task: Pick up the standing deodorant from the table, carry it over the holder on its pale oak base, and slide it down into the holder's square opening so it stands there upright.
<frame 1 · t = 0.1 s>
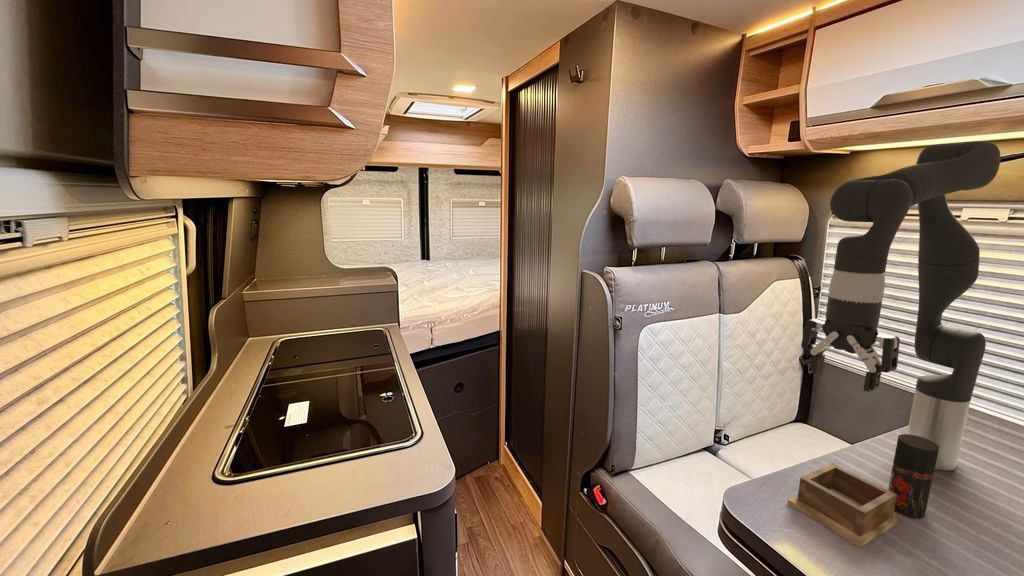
hand: (841, 381, 79), 29 cm above the table, tool pointing down, fingers open, 8 cm apart
deodorant: (904, 509, 88), on the table
holder: (842, 512, 87), on the table
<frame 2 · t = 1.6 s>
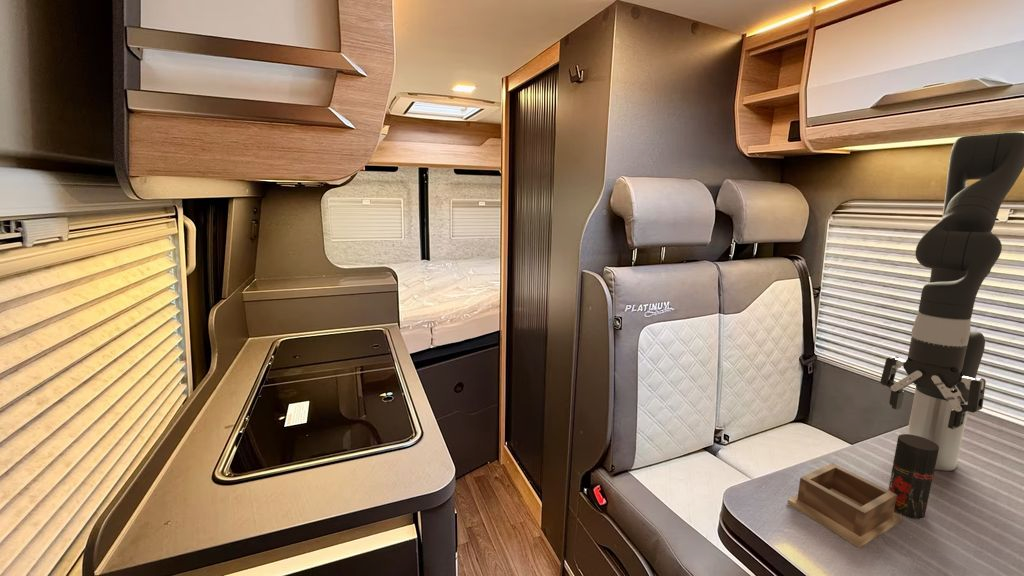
hand: (922, 417, 84), 20 cm above the table, tool pointing down, fingers open, 8 cm apart
nothing on the table moved.
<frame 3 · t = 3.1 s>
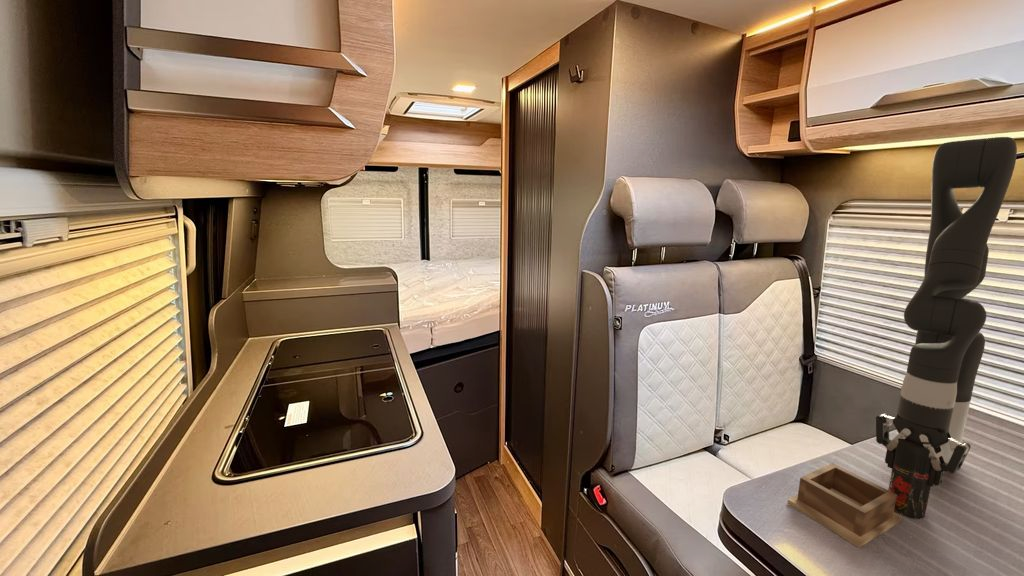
hand: (911, 475, 86), 8 cm above the table, tool pointing down, fingers closed on deodorant, 6 cm apart
deodorant: (904, 509, 88), on the table, touching gripper
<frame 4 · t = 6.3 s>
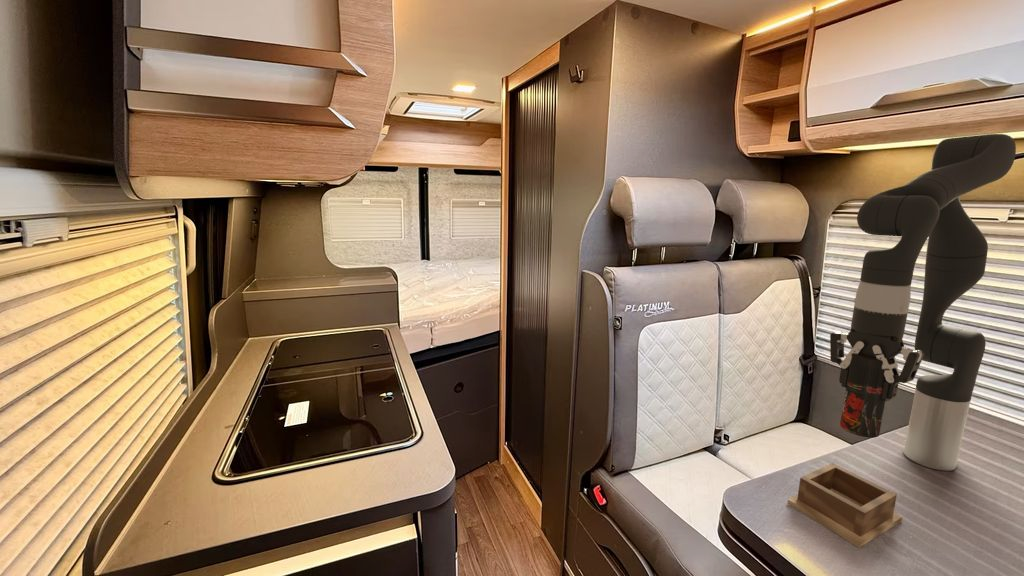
hand: (865, 392, 81), 26 cm above the table, tool pointing down, fingers closed on deodorant, 6 cm apart
deodorant: (858, 430, 83), point 18 cm above the table, touching gripper
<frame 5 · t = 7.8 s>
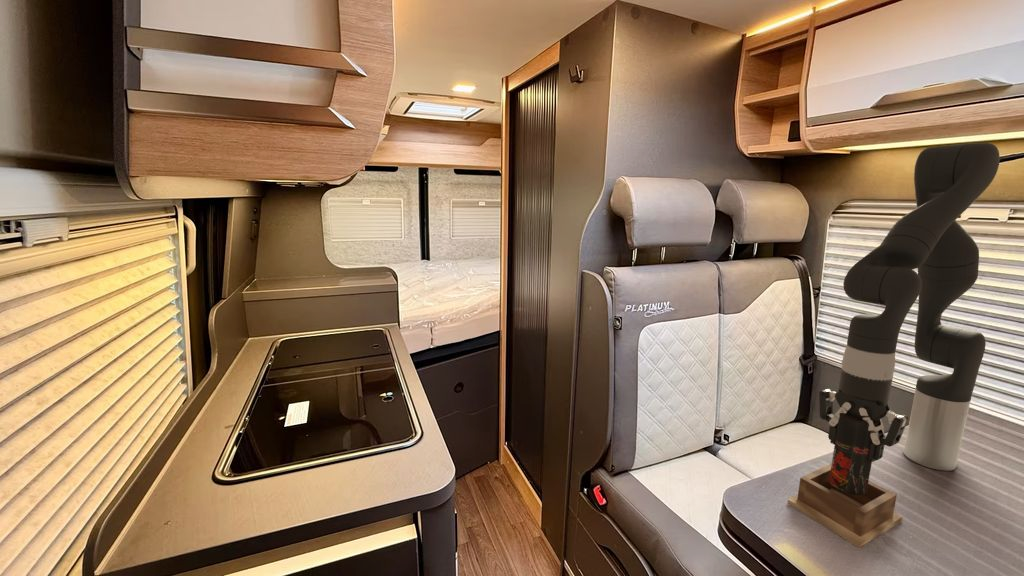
hand: (853, 450, 84), 14 cm above the table, tool pointing down, fingers closed on deodorant, 6 cm apart
deodorant: (847, 486, 86), point 6 cm above the table, touching gripper
when the fingers open (9 cm above the table, at t = 9.3 s): deodorant stays where it is, resting on holder.
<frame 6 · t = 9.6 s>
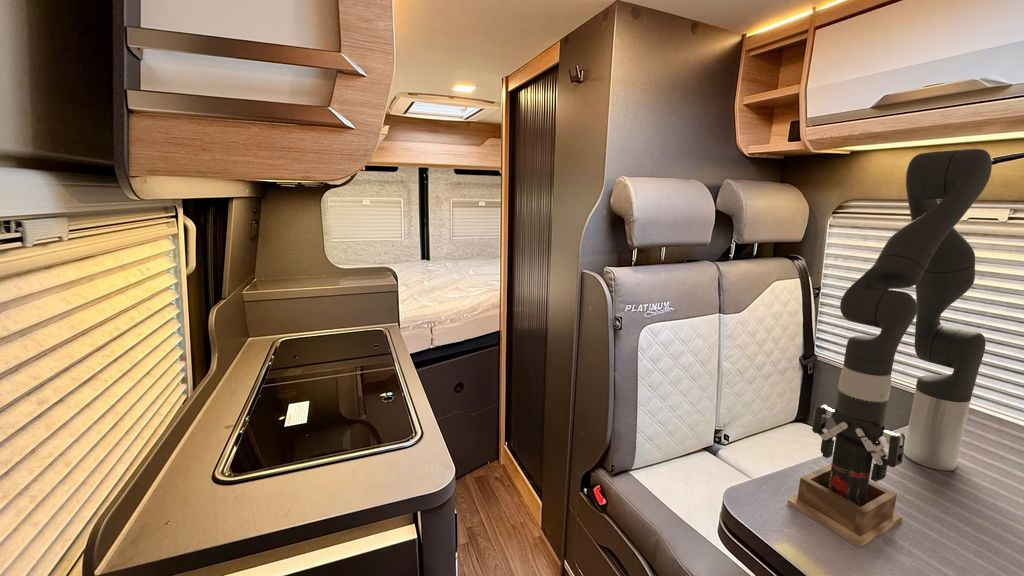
hand: (850, 467, 85), 10 cm above the table, tool pointing down, fingers open, 8 cm apart
deodorant: (844, 508, 87), point 1 cm above the table, touching holder
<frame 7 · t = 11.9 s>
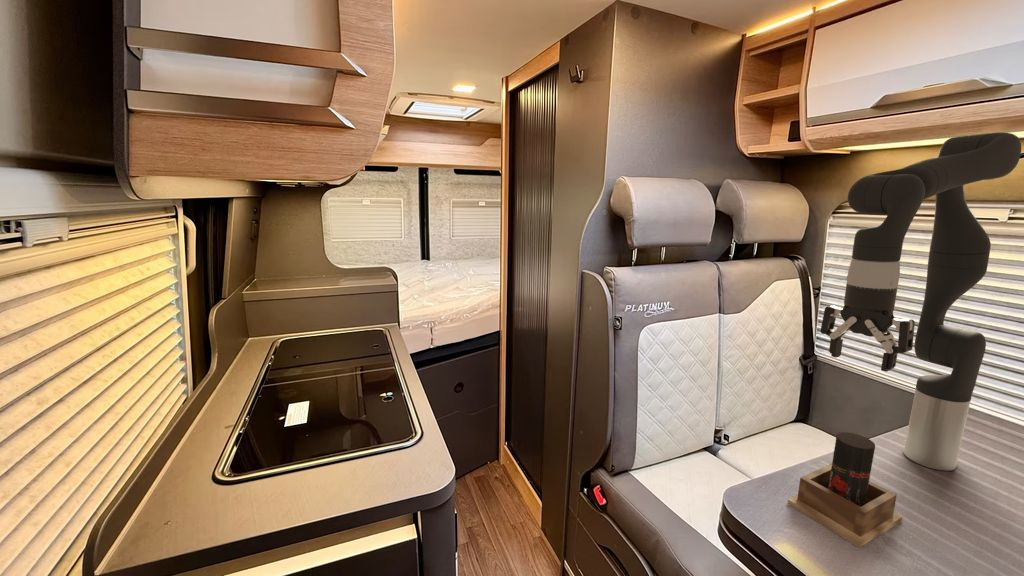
hand: (859, 363, 85), 30 cm above the table, tool pointing down, fingers open, 8 cm apart
nothing on the table moved.
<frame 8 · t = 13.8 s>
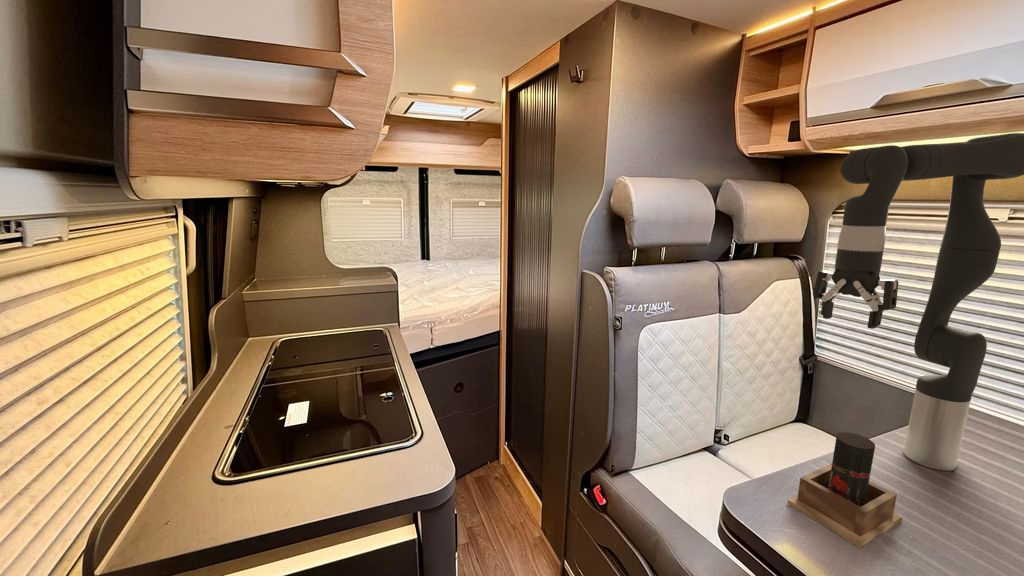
hand: (848, 322, 92), 36 cm above the table, tool pointing down, fingers open, 8 cm apart
nothing on the table moved.
at the end: deodorant 0.1 cm off-centre on the holder, point 0.8 cm above the holder's base; deodorant tilted 0°; the gripper is holding nothing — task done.
